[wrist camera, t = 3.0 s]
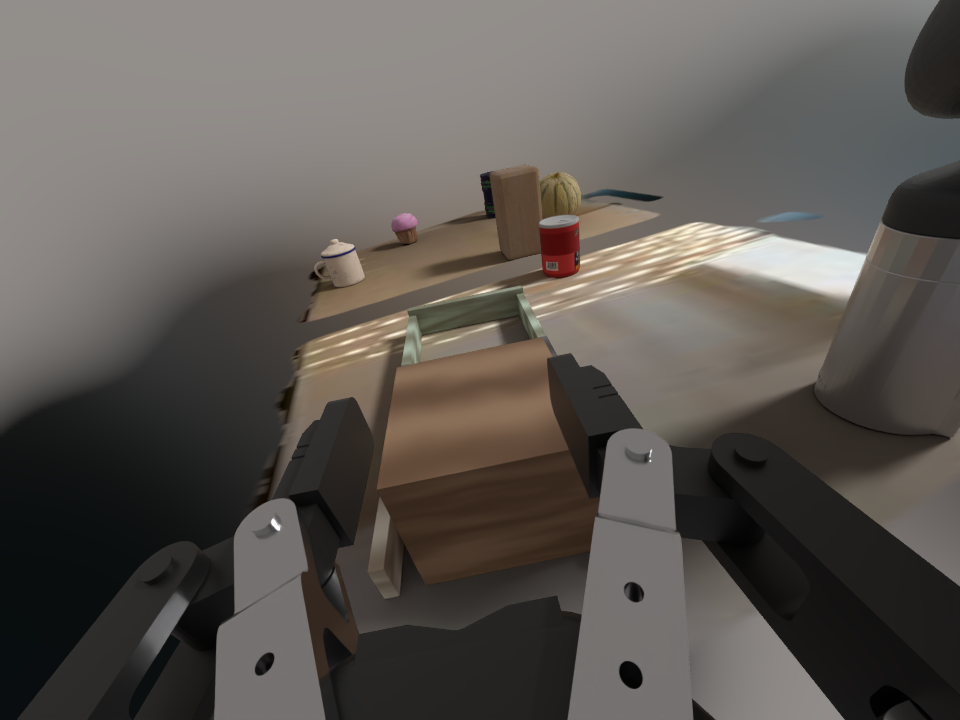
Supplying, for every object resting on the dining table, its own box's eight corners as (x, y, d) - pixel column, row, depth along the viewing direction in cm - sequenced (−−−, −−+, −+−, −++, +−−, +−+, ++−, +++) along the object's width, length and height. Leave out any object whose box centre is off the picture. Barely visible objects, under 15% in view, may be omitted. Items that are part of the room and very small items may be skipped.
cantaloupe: (561, 216, 121) (559, 166, 114) (592, 220, 110) (591, 165, 102) (525, 227, 117) (519, 177, 109) (552, 233, 105) (548, 177, 97)
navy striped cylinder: (497, 211, 147) (492, 170, 139) (516, 211, 141) (511, 168, 133) (481, 218, 142) (474, 176, 134) (499, 218, 135) (493, 174, 127)
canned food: (584, 274, 76) (583, 219, 70) (546, 280, 76) (542, 227, 71) (575, 262, 82) (573, 212, 77) (540, 269, 83) (535, 219, 77)
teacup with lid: (363, 273, 106) (348, 232, 100) (368, 280, 99) (352, 237, 93) (322, 285, 103) (304, 244, 97) (324, 294, 96) (305, 250, 90)
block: (508, 262, 91) (496, 174, 81) (500, 252, 100) (488, 171, 89) (546, 253, 92) (539, 165, 81) (535, 244, 100) (527, 163, 89)
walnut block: (599, 550, 29) (599, 443, 22) (426, 586, 29) (376, 489, 22) (551, 429, 40) (542, 336, 34) (428, 454, 40) (396, 367, 34)
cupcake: (426, 238, 129) (418, 209, 124) (412, 246, 123) (404, 215, 117) (406, 240, 133) (398, 211, 128) (392, 247, 127) (383, 218, 121)
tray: (641, 548, 28) (646, 509, 25) (384, 599, 28) (362, 565, 26) (524, 310, 66) (521, 285, 64) (415, 333, 66) (408, 308, 64)
